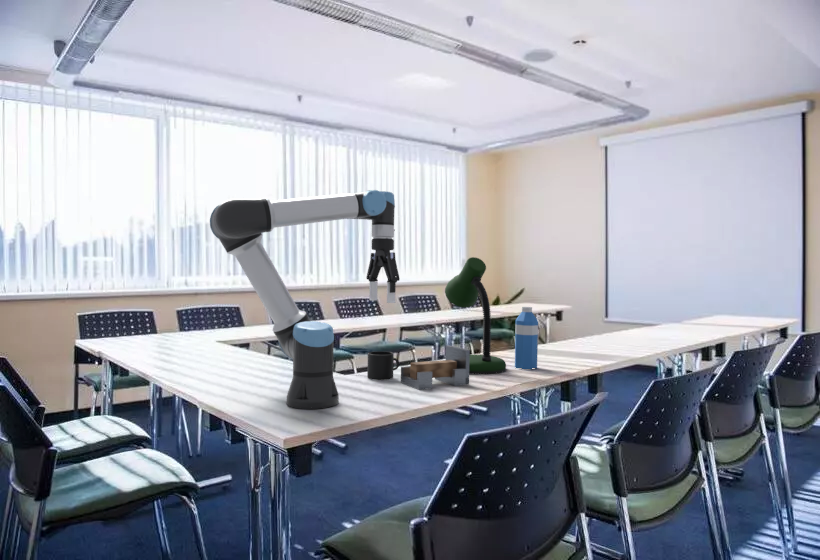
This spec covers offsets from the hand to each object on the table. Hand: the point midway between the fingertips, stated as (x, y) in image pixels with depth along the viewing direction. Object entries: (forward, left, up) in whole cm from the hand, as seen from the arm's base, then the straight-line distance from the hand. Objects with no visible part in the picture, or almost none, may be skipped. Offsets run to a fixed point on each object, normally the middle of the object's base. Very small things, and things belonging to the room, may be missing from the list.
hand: (381, 301), depth 187 cm
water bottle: (+70, +8, -29) cm, 76 cm away
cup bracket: (+26, -3, -29) cm, 39 cm away
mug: (+8, +14, -29) cm, 33 cm away
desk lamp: (+50, +18, -29) cm, 60 cm away
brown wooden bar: (+19, -3, -26) cm, 33 cm away
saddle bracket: (+12, -3, -29) cm, 31 cm away
